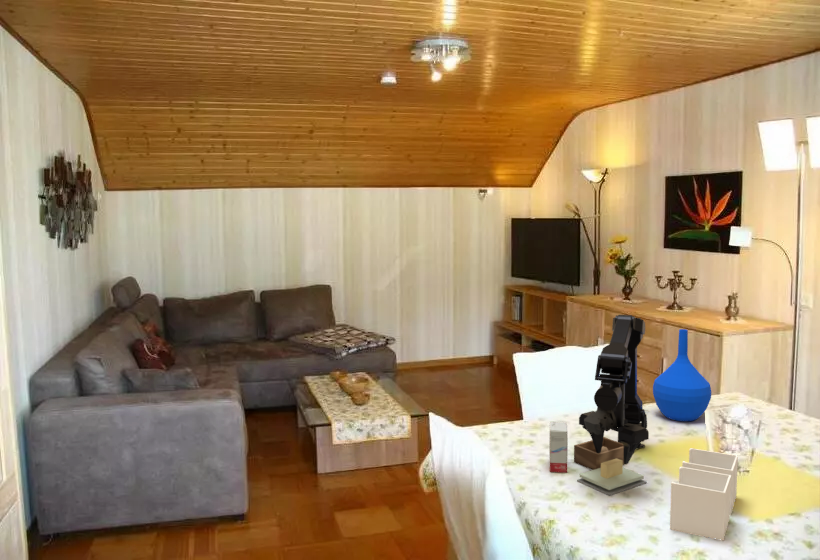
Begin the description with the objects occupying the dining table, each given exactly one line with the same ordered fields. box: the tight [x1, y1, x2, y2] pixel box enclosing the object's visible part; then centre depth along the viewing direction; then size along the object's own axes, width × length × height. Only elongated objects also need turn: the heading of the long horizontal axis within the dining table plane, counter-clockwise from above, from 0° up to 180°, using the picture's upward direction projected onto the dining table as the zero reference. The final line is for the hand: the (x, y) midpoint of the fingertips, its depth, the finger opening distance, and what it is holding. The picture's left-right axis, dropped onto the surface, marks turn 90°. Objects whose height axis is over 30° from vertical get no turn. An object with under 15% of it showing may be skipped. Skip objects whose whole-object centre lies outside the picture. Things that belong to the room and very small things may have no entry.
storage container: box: [669, 447, 739, 541], centre depth 163 cm, size 25×11×11 cm, turn 149°
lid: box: [579, 458, 645, 490], centre depth 182 cm, size 13×10×5 cm
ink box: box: [548, 421, 569, 474], centre depth 193 cm, size 9×5×12 cm, turn 168°
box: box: [573, 436, 625, 471], centre depth 196 cm, size 12×9×5 cm
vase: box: [652, 328, 712, 422], centre depth 234 cm, size 18×18×30 cm
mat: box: [576, 478, 648, 497], centre depth 182 cm, size 14×11×1 cm
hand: (612, 458), depth 182 cm, fingers open, 9 cm apart
